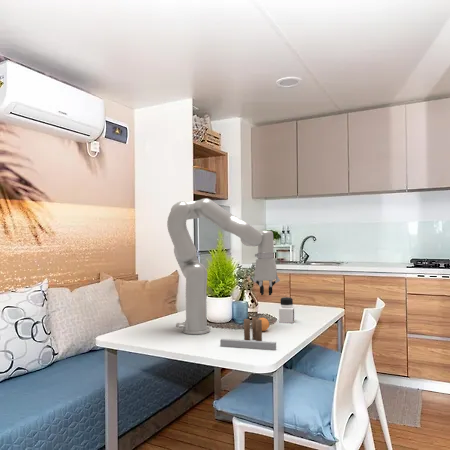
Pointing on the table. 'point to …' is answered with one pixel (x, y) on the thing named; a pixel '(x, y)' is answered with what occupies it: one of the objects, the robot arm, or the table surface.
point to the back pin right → (258, 330)
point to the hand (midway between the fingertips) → (266, 294)
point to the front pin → (254, 327)
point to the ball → (264, 324)
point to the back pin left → (246, 329)
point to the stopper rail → (248, 344)
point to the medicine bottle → (286, 310)
